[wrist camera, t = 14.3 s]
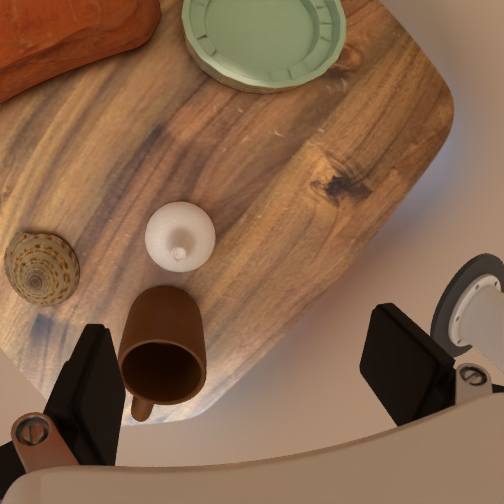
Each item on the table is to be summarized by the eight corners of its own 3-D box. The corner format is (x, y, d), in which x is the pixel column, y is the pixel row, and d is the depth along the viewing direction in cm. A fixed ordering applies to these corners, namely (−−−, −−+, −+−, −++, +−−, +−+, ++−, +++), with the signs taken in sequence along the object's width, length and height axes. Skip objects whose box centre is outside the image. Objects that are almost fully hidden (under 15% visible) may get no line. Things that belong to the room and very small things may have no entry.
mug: (172, 380, 35) (173, 440, 26) (112, 359, 32) (97, 419, 24) (213, 299, 32) (223, 356, 24) (143, 272, 30) (129, 323, 21)
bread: (-53, 31, 15) (-103, 16, 5) (151, -64, 18) (144, -124, 8) (-52, 144, 20) (-114, 154, 10) (167, 50, 23) (157, 3, 14)
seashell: (-2, 222, 23) (46, 254, 22) (37, 215, 28) (86, 242, 28) (-4, 295, 25) (41, 333, 24) (30, 282, 30) (76, 313, 30)
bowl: (308, -32, 22) (321, -48, 19) (343, 84, 27) (362, 78, 24) (170, -18, 21) (168, -36, 17) (201, 109, 26) (202, 103, 22)
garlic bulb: (153, 267, 30) (144, 307, 22) (142, 204, 28) (126, 226, 20) (217, 258, 31) (227, 296, 23) (209, 194, 29) (217, 213, 21)
